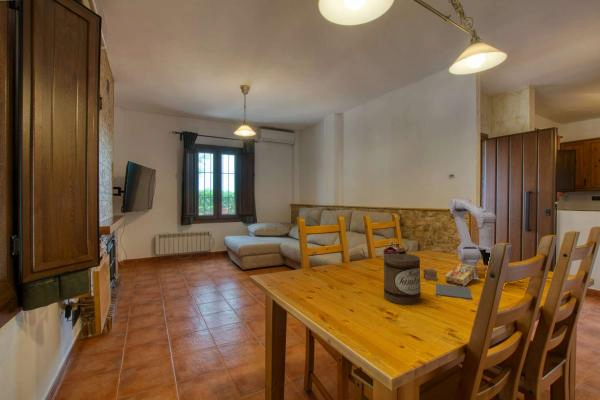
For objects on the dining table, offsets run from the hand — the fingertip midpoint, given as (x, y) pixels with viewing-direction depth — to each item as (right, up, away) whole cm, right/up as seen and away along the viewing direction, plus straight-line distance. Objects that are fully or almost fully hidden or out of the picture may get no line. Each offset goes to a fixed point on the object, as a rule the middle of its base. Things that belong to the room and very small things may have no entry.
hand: (486, 265), depth 136 cm
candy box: (-15, -9, +3) cm, 17 cm away
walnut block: (-21, -11, +13) cm, 27 cm away
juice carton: (-46, -11, 0) cm, 47 cm away
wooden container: (-46, -11, -14) cm, 50 cm away
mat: (-20, -11, -7) cm, 24 cm away
